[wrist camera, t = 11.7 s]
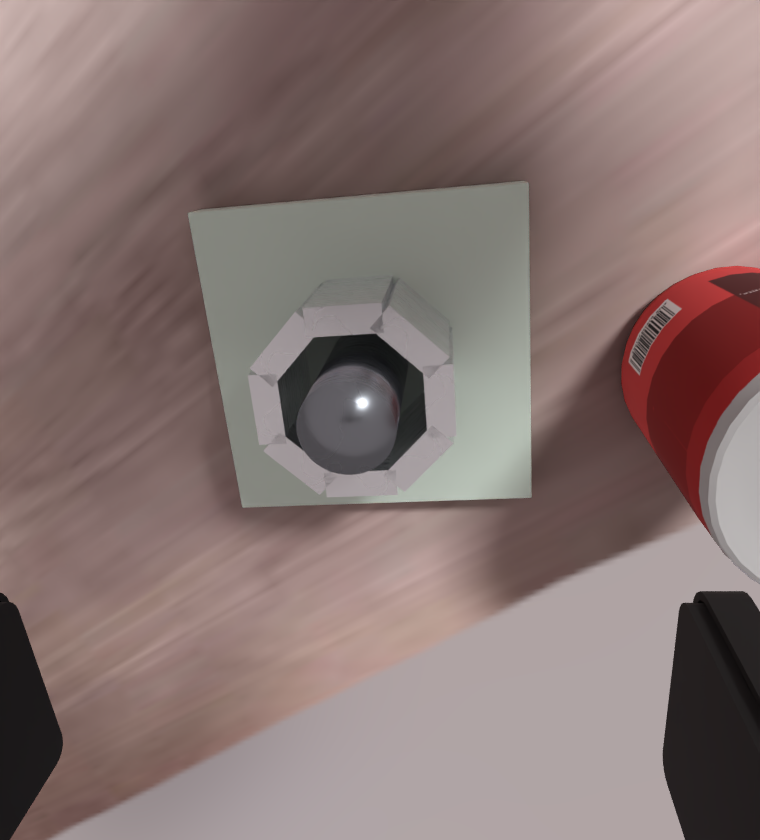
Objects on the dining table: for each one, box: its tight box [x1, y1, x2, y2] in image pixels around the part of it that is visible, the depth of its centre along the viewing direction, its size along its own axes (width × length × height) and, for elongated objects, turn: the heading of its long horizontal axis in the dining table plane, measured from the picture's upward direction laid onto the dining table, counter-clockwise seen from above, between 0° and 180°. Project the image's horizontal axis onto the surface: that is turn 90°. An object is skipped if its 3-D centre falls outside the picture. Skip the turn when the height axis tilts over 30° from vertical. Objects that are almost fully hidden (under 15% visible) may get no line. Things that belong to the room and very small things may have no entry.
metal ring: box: [248, 275, 456, 497], centre depth 26 cm, size 7×7×5 cm
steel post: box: [296, 333, 408, 475], centre depth 25 cm, size 3×3×7 cm
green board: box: [188, 181, 532, 508], centre depth 29 cm, size 13×13×2 cm
